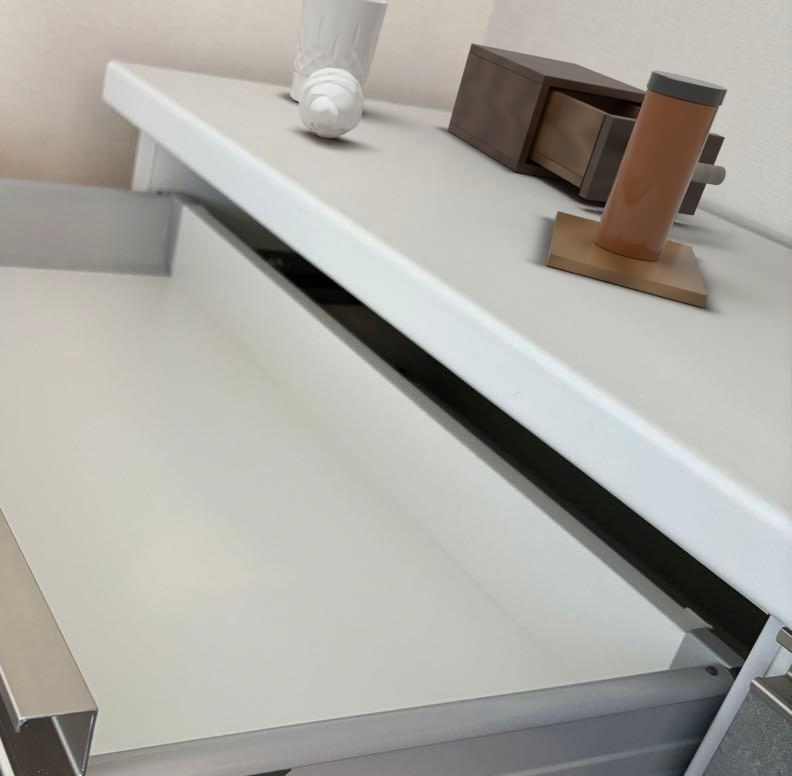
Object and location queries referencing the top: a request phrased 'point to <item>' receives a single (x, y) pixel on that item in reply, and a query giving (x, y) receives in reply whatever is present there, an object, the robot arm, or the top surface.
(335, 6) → the white tapered cylinder
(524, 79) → the cabinet
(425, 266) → the top surface
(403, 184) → the top surface
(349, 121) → the garlic bulb
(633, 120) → the drawer
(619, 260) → the cork mat
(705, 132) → the spice jar
